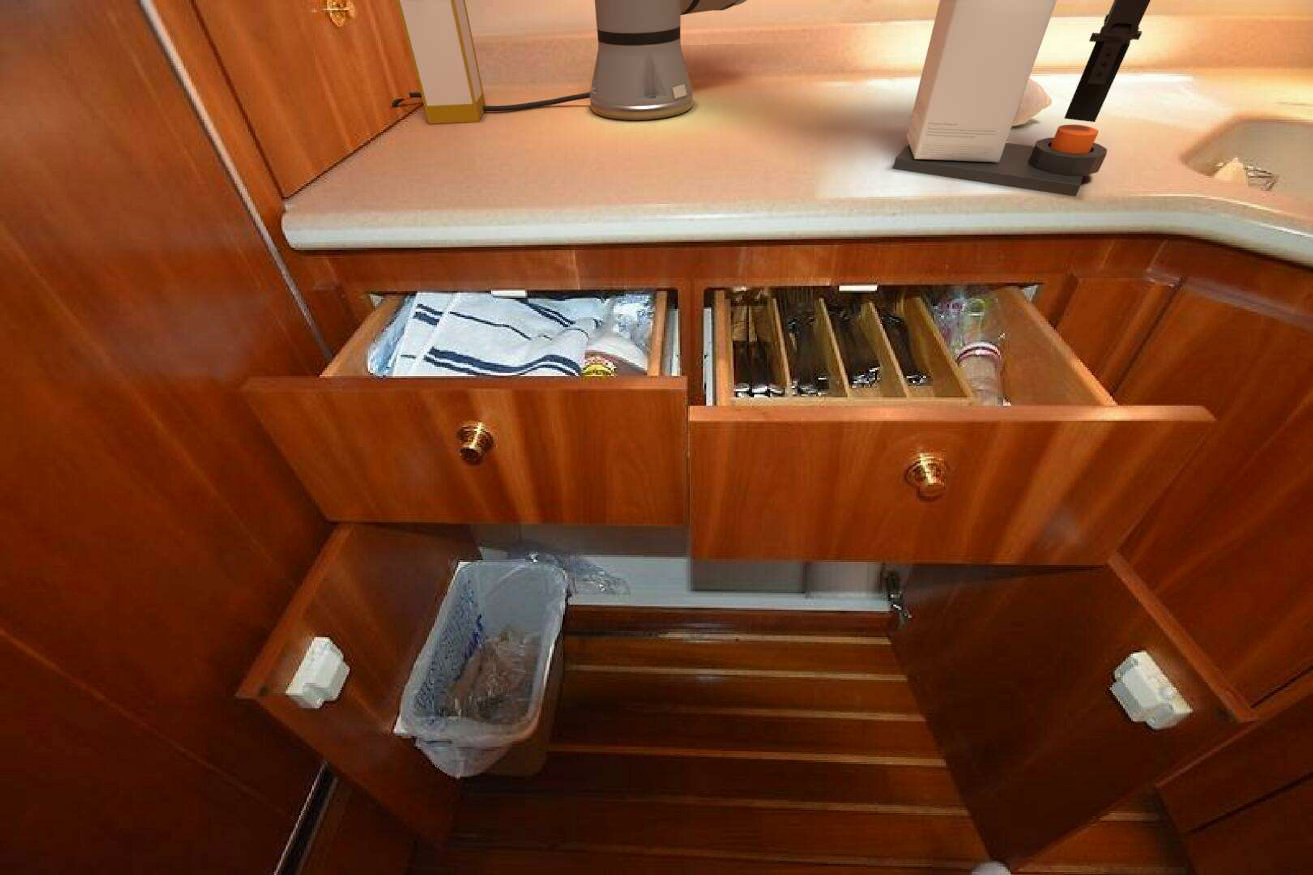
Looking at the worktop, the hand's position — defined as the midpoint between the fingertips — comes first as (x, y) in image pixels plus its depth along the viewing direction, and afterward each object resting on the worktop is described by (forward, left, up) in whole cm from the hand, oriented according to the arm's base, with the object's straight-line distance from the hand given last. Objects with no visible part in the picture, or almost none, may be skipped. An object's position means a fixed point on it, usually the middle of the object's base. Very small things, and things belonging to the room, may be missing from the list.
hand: (1080, 118), depth 59 cm
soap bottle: (-76, -13, -6) cm, 78 cm away
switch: (0, 0, -3) cm, 3 cm away
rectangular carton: (-11, 0, -5) cm, 12 cm away
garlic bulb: (-6, +19, -6) cm, 21 cm away
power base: (-7, 0, -6) cm, 9 cm away
